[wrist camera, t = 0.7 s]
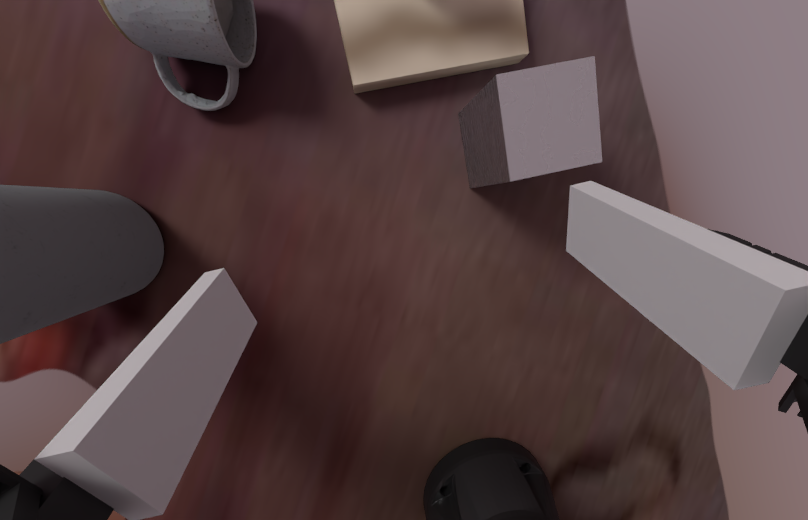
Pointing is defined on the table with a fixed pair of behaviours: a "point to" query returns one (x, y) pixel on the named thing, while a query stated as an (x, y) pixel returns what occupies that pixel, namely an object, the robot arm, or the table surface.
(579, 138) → the mottled grey cube
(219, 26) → the ceramic mug
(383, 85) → the base
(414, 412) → the table surface
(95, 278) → the water bottle
